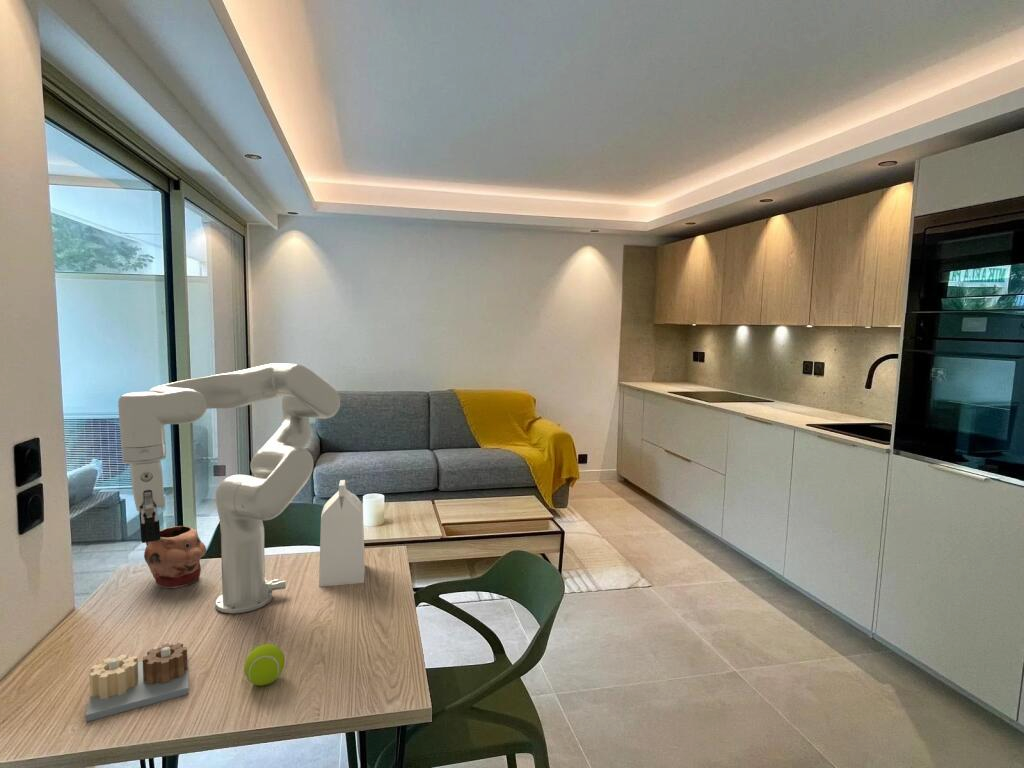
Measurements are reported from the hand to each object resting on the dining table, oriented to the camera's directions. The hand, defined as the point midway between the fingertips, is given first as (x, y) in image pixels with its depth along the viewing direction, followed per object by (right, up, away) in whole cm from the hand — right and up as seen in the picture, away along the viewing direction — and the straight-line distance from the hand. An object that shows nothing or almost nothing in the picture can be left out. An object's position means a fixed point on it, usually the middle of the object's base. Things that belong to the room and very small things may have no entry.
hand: (150, 533), depth 116 cm
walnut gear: (+9, -24, -10) cm, 28 cm away
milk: (+29, -22, +38) cm, 52 cm away
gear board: (+6, -25, -12) cm, 28 cm away
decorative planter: (-15, -22, +33) cm, 42 cm away
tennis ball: (+28, -26, -10) cm, 40 cm away
